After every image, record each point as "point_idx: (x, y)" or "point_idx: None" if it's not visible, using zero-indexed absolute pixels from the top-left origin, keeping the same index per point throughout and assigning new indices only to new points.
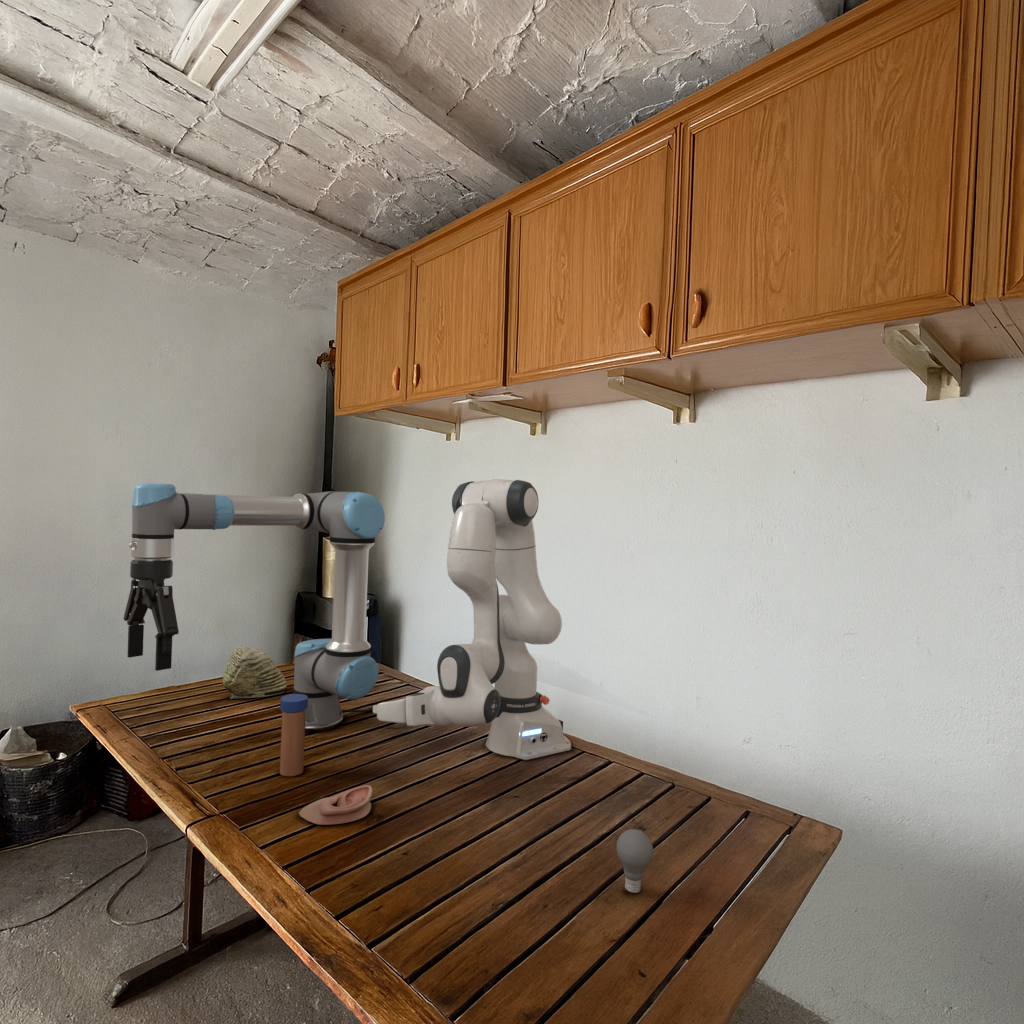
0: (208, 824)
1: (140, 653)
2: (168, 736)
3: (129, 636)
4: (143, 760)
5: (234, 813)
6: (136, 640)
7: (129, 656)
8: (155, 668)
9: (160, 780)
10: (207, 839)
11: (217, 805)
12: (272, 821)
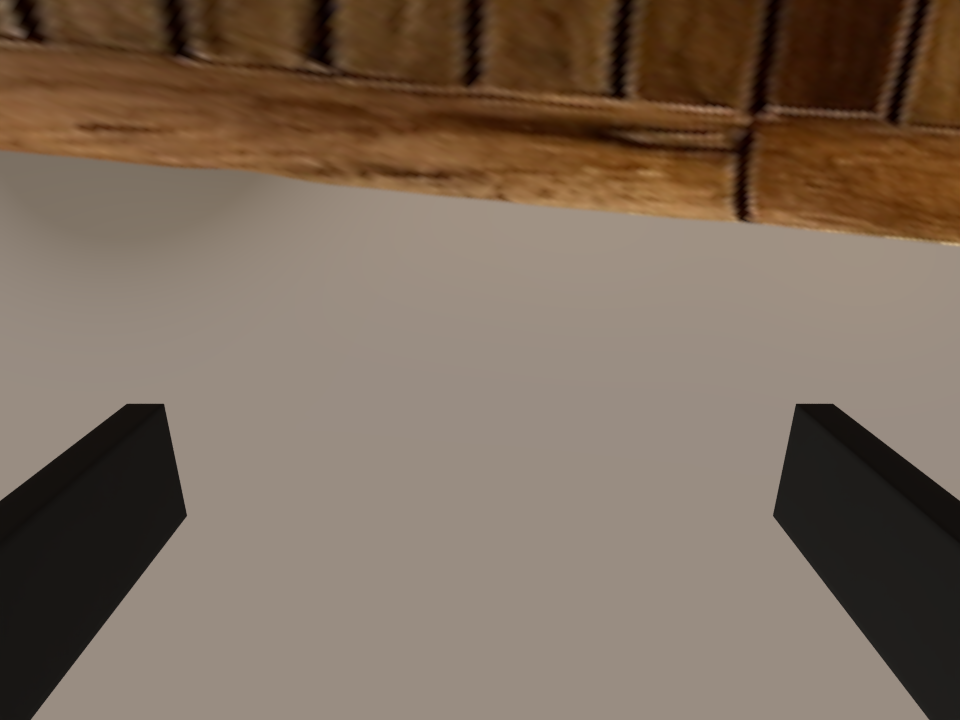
0: (785, 176)
1: (157, 437)
2: None
3: (45, 690)
4: (158, 117)
5: (793, 81)
6: (73, 572)
7: (180, 517)
8: (785, 525)
9: (379, 147)
10: (855, 218)
11: (699, 94)
12: (945, 16)
